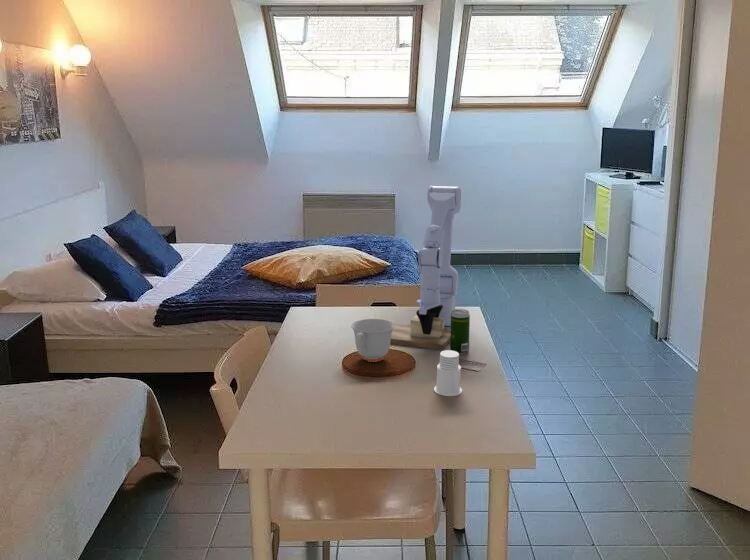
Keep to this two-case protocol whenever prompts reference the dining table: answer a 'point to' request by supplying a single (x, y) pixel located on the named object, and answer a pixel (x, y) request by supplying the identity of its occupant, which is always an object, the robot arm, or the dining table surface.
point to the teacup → (372, 337)
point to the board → (417, 338)
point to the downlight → (448, 374)
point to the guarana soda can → (460, 331)
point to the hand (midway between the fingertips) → (429, 331)
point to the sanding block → (436, 329)
